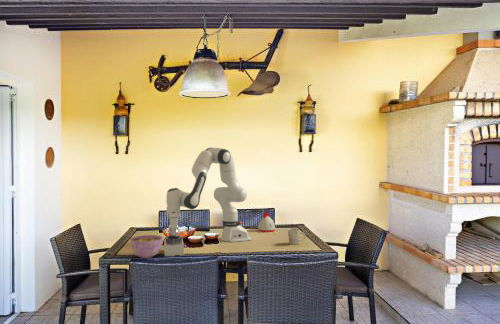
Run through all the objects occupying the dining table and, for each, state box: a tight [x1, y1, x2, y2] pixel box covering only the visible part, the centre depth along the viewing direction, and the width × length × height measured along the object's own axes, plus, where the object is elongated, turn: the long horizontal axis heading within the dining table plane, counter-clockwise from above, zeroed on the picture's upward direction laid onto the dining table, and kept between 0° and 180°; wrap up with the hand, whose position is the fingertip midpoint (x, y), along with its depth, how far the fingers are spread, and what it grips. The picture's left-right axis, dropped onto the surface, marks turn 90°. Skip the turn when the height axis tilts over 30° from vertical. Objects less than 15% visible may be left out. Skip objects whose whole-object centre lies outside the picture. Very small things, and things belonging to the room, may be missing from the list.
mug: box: [287, 227, 307, 245], centre depth 299 cm, size 8×13×10 cm, turn 91°
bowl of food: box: [130, 234, 164, 259], centre depth 266 cm, size 20×20×12 cm
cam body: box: [163, 235, 185, 257], centre depth 276 cm, size 12×18×10 cm
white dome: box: [257, 211, 276, 233], centre depth 345 cm, size 14×14×15 cm
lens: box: [168, 224, 179, 239], centre depth 278 cm, size 6×6×9 cm
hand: (173, 233), depth 278 cm, fingers closed on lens, 6 cm apart
